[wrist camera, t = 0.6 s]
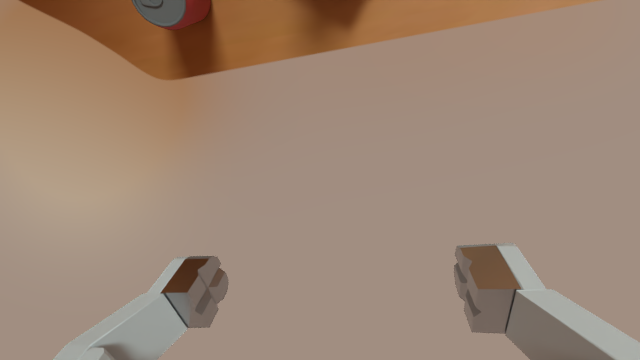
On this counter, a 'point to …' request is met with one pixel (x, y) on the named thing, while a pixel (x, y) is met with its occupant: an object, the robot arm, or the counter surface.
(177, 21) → the beer can
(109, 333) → the robot arm
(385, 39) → the counter surface
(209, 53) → the counter surface
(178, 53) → the counter surface
